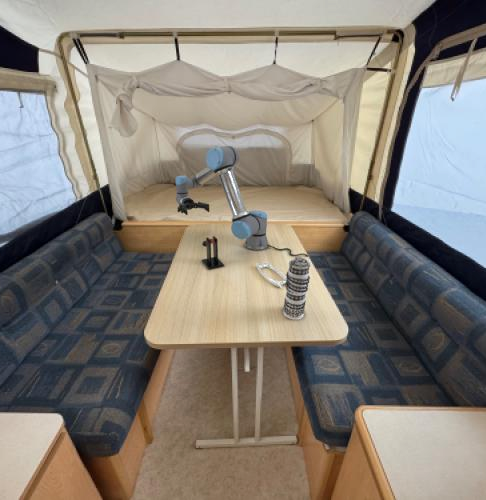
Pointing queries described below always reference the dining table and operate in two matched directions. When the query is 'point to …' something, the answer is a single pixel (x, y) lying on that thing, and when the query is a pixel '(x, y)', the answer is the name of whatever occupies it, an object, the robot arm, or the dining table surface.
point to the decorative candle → (296, 288)
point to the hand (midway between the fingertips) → (198, 211)
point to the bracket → (213, 261)
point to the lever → (205, 242)
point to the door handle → (269, 277)
